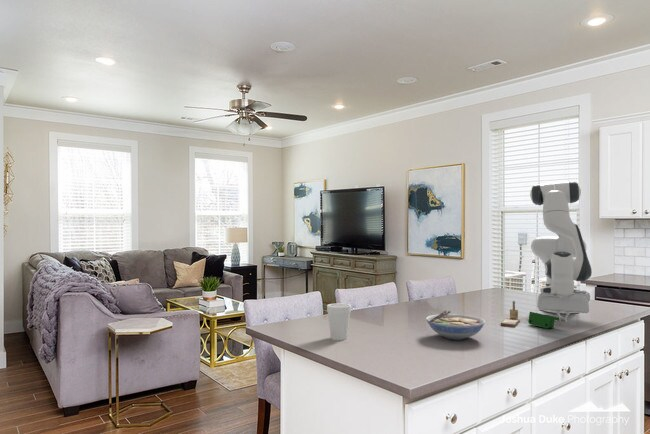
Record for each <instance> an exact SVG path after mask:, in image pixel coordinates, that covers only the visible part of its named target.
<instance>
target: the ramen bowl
mask: <svg viewBox="0 0 650 434" xmlns="http://www.w3.org/2000/svg"><path fill="white" fill-rule="evenodd" d="M425 320H426V322H427V324H428V325H429V327H430V328H431V329H432V330H433V331H434V332H435V333H436V334H437V335H440V336H442V337H445V338H446V339H448V340H452V341H453V340H455V341H463V340H465V339H467V338H470V337H473V336H475V335H477V334H478V333H479V332H480V331H481V330H482V329H483V327H484V325H485V322H486V320H485V319H483V318H481V317H477V316H474V315H467V314H458V313H457V314H456V313H451V310H448V311H447V310H443V311H442V312H441V313H438V314H431V315H428V316H426V318H425Z"/></svg>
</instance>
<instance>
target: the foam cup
mask: <svg viewBox="0 0 650 434" xmlns="http://www.w3.org/2000/svg"><path fill="white" fill-rule="evenodd" d="M351 311H352V305H351V304H349V303H338V302H337V303H329V304H327V305H326V312H327V316H328V324H329V331H330V339H331V340H333V341H346V340H347V339H348V336H349V335H348V333H349V325H350V317H351Z"/></svg>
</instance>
